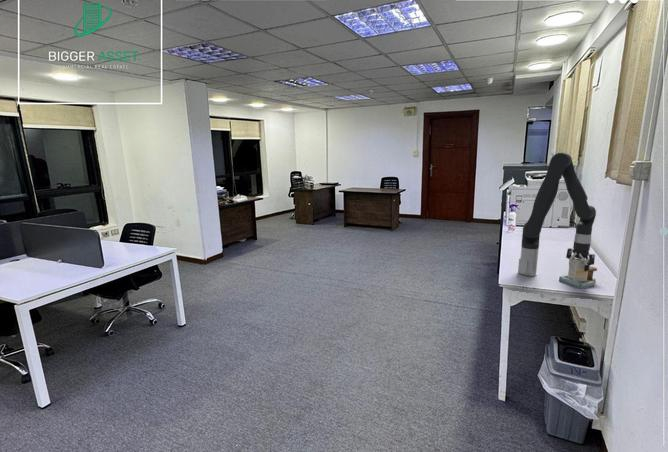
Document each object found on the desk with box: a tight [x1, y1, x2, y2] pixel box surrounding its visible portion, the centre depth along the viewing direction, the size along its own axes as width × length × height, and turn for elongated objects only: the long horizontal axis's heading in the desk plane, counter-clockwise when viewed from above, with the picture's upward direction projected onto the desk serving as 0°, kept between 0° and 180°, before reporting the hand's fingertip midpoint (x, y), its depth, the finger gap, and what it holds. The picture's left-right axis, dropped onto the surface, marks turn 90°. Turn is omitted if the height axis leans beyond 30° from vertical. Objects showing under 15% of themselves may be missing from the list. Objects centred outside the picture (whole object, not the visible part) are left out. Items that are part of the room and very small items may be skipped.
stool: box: [587, 265, 598, 283], centre depth 193 cm, size 6×6×8 cm
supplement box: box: [567, 258, 588, 282], centre depth 189 cm, size 8×5×13 cm, turn 94°
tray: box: [558, 274, 596, 290], centre depth 190 cm, size 10×13×3 cm
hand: (578, 268), depth 189 cm, fingers open, 8 cm apart
